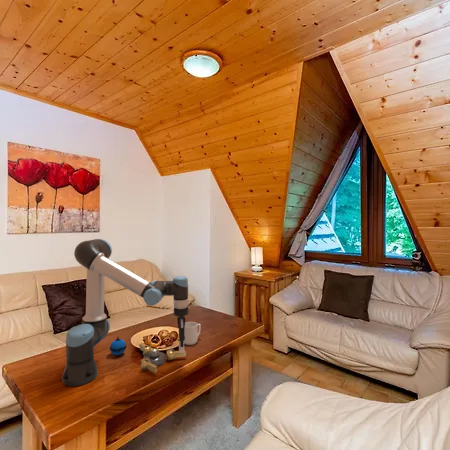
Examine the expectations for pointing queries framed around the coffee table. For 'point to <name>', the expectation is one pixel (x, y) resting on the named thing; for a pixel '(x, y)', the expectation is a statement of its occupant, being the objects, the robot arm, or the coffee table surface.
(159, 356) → the tribrach plate
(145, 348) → the knob
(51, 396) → the coffee table surface
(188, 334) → the mug
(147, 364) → the knob
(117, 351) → the ornament
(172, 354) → the knob
